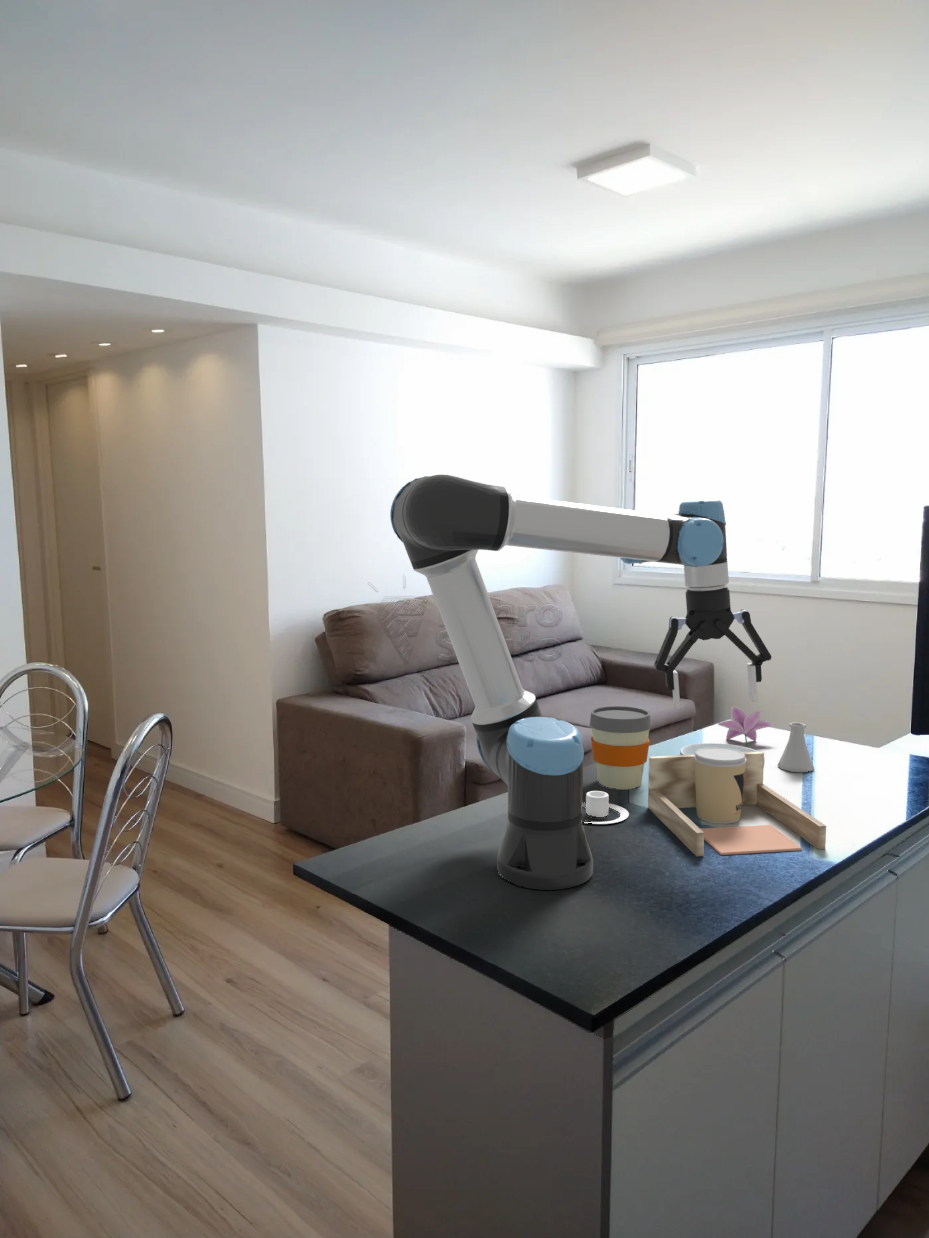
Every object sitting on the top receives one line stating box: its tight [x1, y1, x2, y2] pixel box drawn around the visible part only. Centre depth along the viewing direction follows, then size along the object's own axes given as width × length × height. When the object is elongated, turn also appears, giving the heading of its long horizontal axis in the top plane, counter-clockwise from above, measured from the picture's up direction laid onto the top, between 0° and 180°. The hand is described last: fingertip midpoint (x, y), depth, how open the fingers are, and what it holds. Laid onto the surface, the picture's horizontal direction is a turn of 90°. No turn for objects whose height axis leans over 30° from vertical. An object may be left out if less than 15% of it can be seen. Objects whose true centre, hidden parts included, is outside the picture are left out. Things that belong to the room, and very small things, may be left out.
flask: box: [777, 722, 815, 773], centre depth 190 cm, size 7×7×10 cm
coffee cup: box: [694, 747, 747, 825], centre depth 161 cm, size 9×9×12 cm
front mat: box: [700, 824, 803, 856], centre depth 150 cm, size 14×11×1 cm
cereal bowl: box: [679, 742, 766, 770], centre depth 179 cm, size 17×17×7 cm
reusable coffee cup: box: [589, 705, 652, 790], centre depth 181 cm, size 13×13×15 cm
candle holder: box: [583, 790, 630, 825], centre depth 163 cm, size 12×12×4 cm
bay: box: [647, 751, 827, 857], centre depth 156 cm, size 22×24×10 cm
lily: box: [717, 705, 775, 748], centre depth 211 cm, size 12×12×10 cm
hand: (715, 703), depth 157 cm, fingers open, 13 cm apart
